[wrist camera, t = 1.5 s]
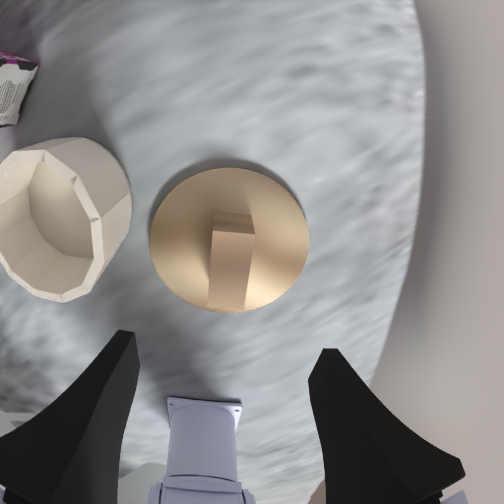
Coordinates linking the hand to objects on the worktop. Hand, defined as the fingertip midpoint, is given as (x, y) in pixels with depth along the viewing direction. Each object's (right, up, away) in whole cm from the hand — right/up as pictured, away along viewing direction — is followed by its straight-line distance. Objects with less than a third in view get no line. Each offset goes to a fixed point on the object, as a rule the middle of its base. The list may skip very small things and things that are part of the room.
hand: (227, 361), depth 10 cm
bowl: (-11, +7, +6) cm, 15 cm away
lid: (-1, +5, +9) cm, 10 cm away
